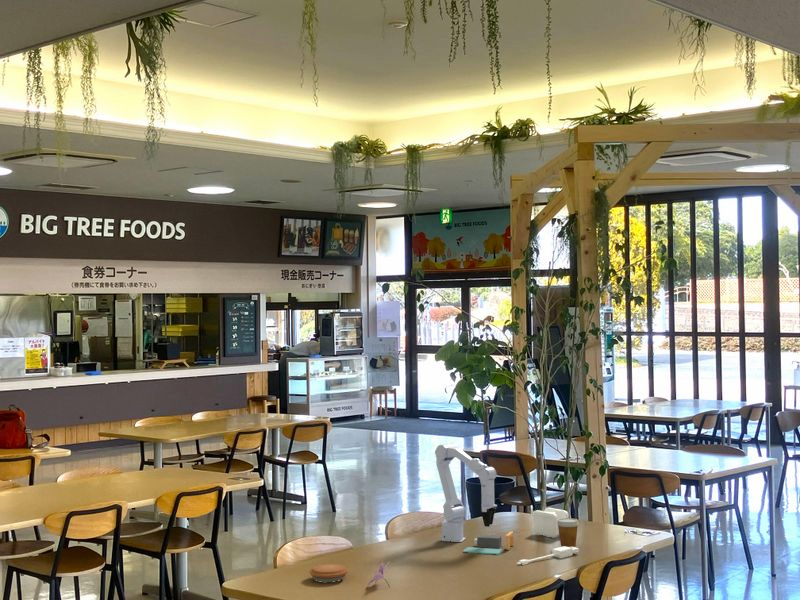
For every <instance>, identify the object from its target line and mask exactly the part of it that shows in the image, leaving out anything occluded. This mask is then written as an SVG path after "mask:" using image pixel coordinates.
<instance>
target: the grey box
mask: <svg viewBox="0 0 800 600" xmlns="http://www.w3.org/2000/svg"><path fill="white" fill-rule="evenodd" d="M473 541H474V543H473V544H474V545H476V548H481V547H488V548H490V549H501V547H502V545H503V543H502V536H501V535H483V534H479V535H478V536H477V537H475V538H474V540H473Z"/></svg>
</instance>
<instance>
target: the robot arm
mask: <svg viewBox="0 0 800 600" xmlns="http://www.w3.org/2000/svg"><path fill="white" fill-rule="evenodd" d="M434 455H435V458H436V459H435V460H436V461H435V463H436V468H437V472H438V476H439V479H440V483H441V487H442V491H443V494H444V500H445V502H444V504H443V505H442V508H443V517H444V520H443V521H442V523H441V541H442V542H450V541H451V542H455V543H462V542H463V541H465V540H466V539H467V538H466V537H464V520H465V517H466V516H467V510H466V507H465V506H464V503H463V501H462V500H461V499H459V498H458V495H457V492H456V487H455V483H454V480H453V477H452V472H451V469H450V468H451V467H450V464H451V462H452V461H453V460H454V459H455V458H456V459H458V460H459V461H461V462H463V463H464V464H466V465H467V467H468V470H470V471H472V473H474V474H476V475H477V477H478V479H479V481H480V485H481V486H480V487H481V489H480V490H481V492H480V493H481V504H480V505H481V509H480V510H479V514H480V515H481V518H482V521H483V525H484V527H486V528H487V527H488V528H489V527H490V525H493V522H494V516H495V514H496V512H497V507H498V504H495V479H496V478H497V474H498V473H497V470H496V469H495V468H494V466H488V464H486V463H483V462H482V461H481V459H479V458H478V457H477V458H476V457H475V458H472V457H471V456H470V455H469V454H467V453H466V452H465V451H464V450H462V449H461V447H460V445H457V444H456V443H455V442H451V443H445V444H439V445H437V447H436V448H435V451H434ZM451 542H450V543H451Z"/></svg>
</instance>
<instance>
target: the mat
mask: <svg viewBox="0 0 800 600" xmlns="http://www.w3.org/2000/svg"><path fill="white" fill-rule="evenodd" d="M463 552H468V553H467V554H477V553H481V554H480V555H492V554H496V555H495V556H499V555H500V554H501V553H502V552H504V549H502V548H481V547H472V546H471V547H470V546H468V547H466V548H465V549H463V550H462V553H463Z"/></svg>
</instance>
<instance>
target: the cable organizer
mask: <svg viewBox="0 0 800 600" xmlns="http://www.w3.org/2000/svg"><path fill="white" fill-rule="evenodd" d="M569 516H570V514H569V512H568V511H567V510H564V509H559V508H553V507H546V508H545V509H544V510H538V509H537V510H533V511H532V514H531V518H532V532H533V533H534V534H535V535H537V536H539V535H543V536H542V537H546V538H548V537H552V538H551V539H555V538H558V537H559V529H558V525H557V522H558V519H562V518H569Z"/></svg>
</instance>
